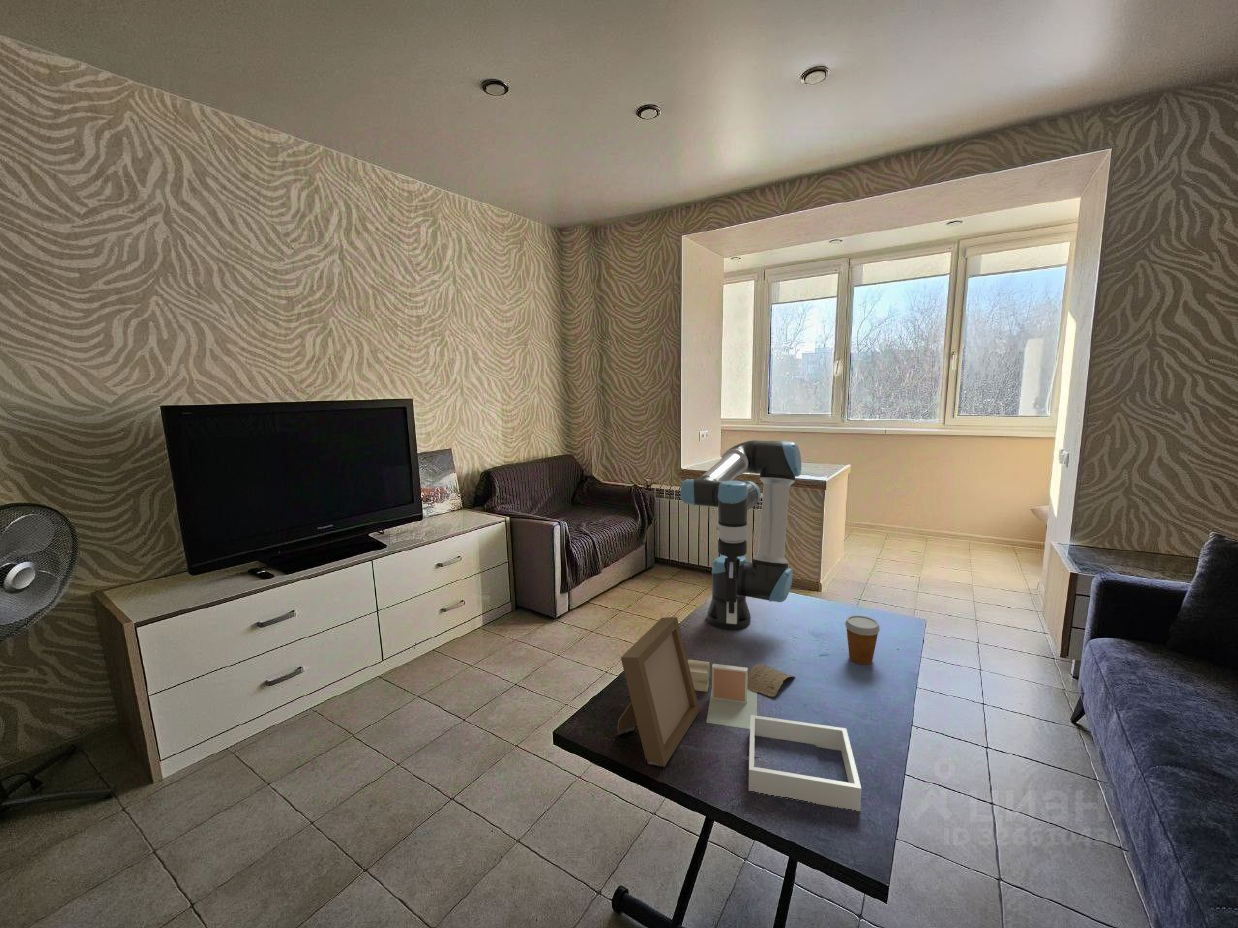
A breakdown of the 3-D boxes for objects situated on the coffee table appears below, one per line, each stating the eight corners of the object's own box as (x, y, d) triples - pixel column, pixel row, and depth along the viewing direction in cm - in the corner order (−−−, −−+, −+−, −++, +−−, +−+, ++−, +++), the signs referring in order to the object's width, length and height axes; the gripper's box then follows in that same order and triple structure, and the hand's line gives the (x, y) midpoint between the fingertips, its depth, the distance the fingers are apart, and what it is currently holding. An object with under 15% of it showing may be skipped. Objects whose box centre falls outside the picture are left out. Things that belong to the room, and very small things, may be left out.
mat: (712, 683, 142) (712, 681, 142) (757, 689, 139) (757, 687, 139) (706, 724, 125) (706, 722, 125) (756, 732, 122) (756, 729, 122)
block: (688, 679, 145) (688, 659, 144) (709, 681, 143) (709, 661, 142) (685, 690, 139) (685, 670, 138) (707, 693, 138) (707, 673, 137)
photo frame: (699, 714, 129) (698, 621, 125) (664, 770, 110) (661, 663, 107) (647, 698, 136) (644, 610, 133) (605, 749, 117) (601, 648, 114)
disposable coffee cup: (870, 671, 146) (872, 632, 144) (837, 658, 153) (839, 621, 152) (883, 659, 152) (885, 621, 151) (852, 647, 159) (853, 611, 158)
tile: (712, 694, 136) (712, 663, 135) (747, 699, 134) (747, 667, 132) (712, 698, 134) (712, 667, 133) (747, 703, 132) (747, 671, 131)
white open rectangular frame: (750, 733, 121) (750, 714, 120) (845, 748, 116) (846, 728, 115) (748, 791, 104) (748, 769, 103) (860, 811, 98) (861, 788, 98)
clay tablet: (775, 699, 133) (775, 689, 133) (740, 685, 140) (740, 675, 139) (797, 678, 144) (797, 669, 144) (763, 666, 150) (764, 657, 150)
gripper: (719, 531, 143) (719, 611, 146) (716, 545, 130) (715, 631, 134) (747, 533, 141) (746, 613, 144) (746, 547, 128) (745, 634, 132)
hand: (731, 622), depth 139 cm, fingers closed
